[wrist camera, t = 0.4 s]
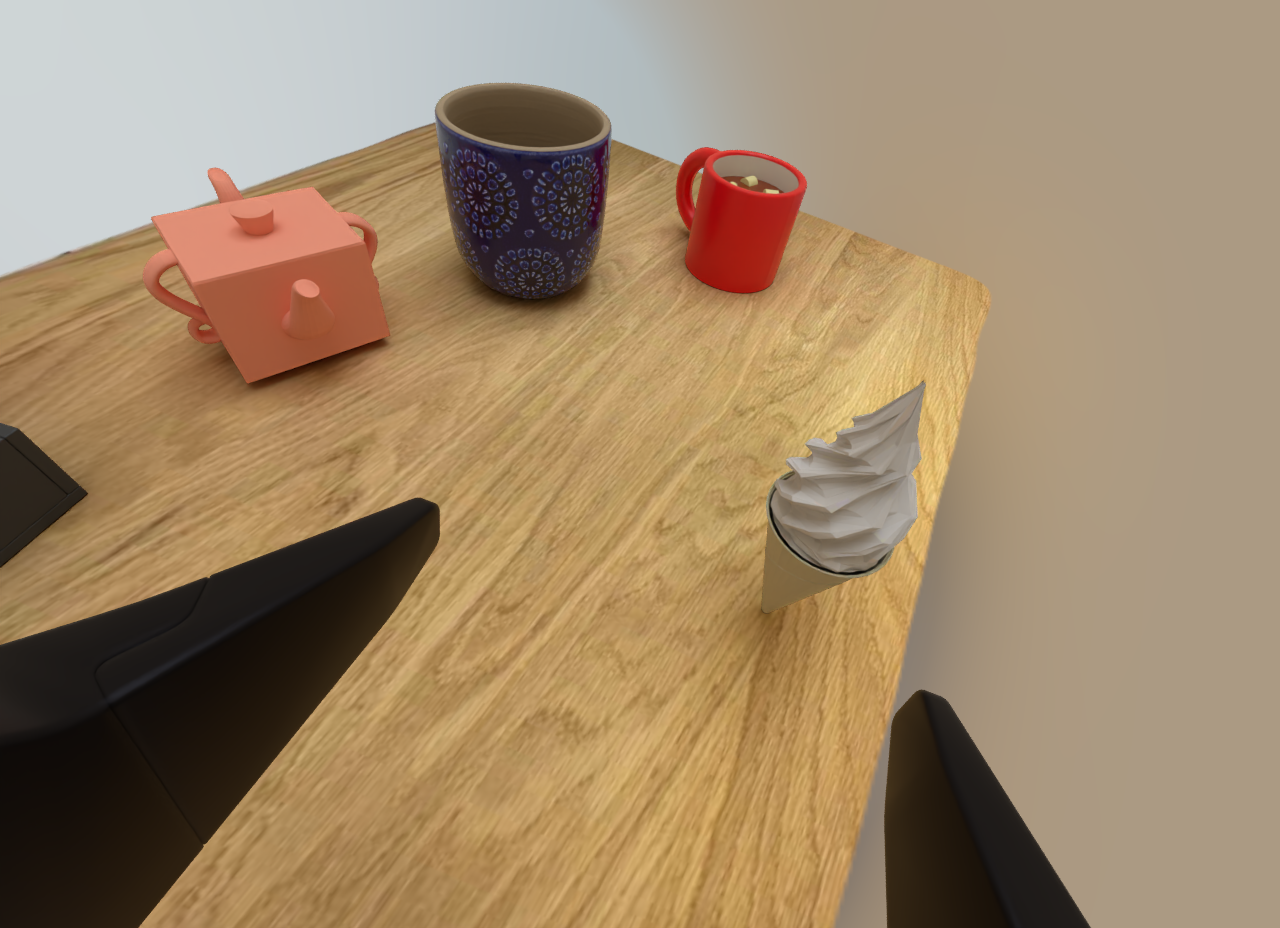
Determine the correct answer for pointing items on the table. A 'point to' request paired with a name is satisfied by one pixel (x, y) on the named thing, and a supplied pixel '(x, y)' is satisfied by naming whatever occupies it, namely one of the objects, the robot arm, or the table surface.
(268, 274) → the teapot
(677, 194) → the mug
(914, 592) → the table surface
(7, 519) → the storage bin
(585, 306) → the table surface
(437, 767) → the table surface
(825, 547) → the ice cream cone
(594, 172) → the planter
